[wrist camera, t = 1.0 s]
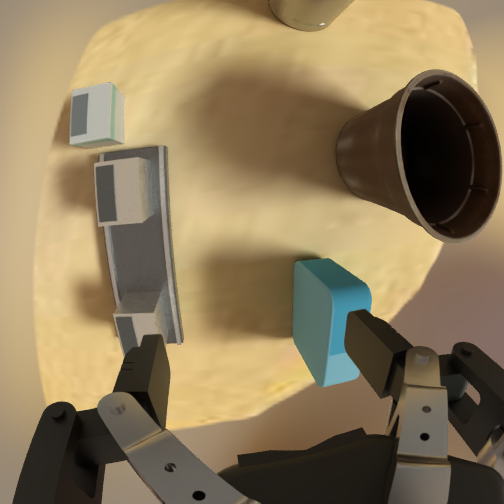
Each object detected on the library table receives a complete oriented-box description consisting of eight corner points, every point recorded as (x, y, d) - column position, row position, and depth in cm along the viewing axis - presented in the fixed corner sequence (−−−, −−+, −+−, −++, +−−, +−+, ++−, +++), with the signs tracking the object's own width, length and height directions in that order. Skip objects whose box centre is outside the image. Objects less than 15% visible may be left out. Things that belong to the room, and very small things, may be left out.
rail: (103, 155, 29) (77, 150, 22) (167, 147, 30) (156, 138, 23) (127, 338, 35) (114, 372, 28) (183, 336, 36) (180, 371, 29)
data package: (321, 334, 40) (357, 384, 28) (291, 339, 39) (321, 393, 28) (326, 255, 37) (374, 288, 25) (293, 257, 36) (332, 294, 25)
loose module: (91, 102, 27) (71, 90, 21) (125, 96, 28) (110, 81, 22) (90, 149, 29) (68, 145, 23) (124, 144, 29) (108, 137, 23)
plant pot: (319, 219, 35) (396, 251, 20) (314, 93, 31) (386, 47, 16) (415, 215, 38) (499, 239, 22) (412, 109, 33) (495, 94, 18)
